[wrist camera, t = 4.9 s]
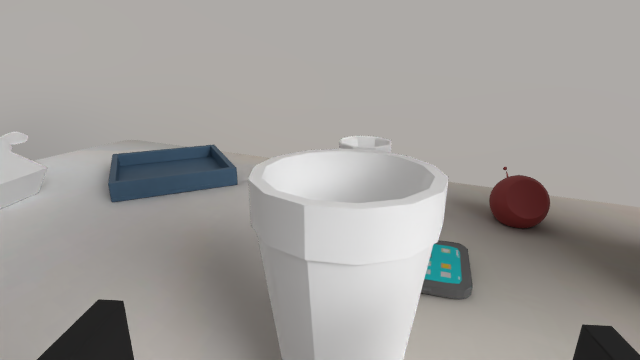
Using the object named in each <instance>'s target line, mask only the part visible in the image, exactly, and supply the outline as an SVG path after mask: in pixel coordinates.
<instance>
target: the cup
mask: <svg viewBox="0 0 640 360" xmlns="http://www.w3.org/2000/svg"><path fill="white" fill-rule="evenodd" d="M391 146H392V142H391V140H389V139H385V138H381V137H376V136H352V137H345V138H341V140H340V142H339V148H340V149H361V150H376V151H382V152H388V153H390V151H391Z"/></svg>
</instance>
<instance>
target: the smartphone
mask: <svg viewBox="0 0 640 360" xmlns="http://www.w3.org/2000/svg"><path fill="white" fill-rule="evenodd" d="M471 292H472V278H471V271H470V263H469V255H468V249H467V248H466V247H464V246H463V245H461V244H459V243H454V242H447V241H439V240H438V242H437V243H435V244H433V248H432V252H431V255H430V259H429V263H428V267H427V271H426V274H425V278H424V282H423V286H422V290H421V293H424V294H430V295H436V296H442V297H448V298H455V299H464V298H467V297H469V296H470V295H471Z"/></svg>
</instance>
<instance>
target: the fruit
mask: <svg viewBox="0 0 640 360" xmlns="http://www.w3.org/2000/svg"><path fill="white" fill-rule="evenodd" d="M503 169H504V170H506V169H507V168H506V167H504V168H503ZM506 173H507V172H506ZM489 202H490V208H491V211H492V213H493V215H494V216H495V218H496V219H497V220H498V221H499V222H501V223H503V224H505V225H507V226H511V227H515V228H530V227H533V226H535V225H537V224H539V223H540V222H541V221H542V220H543V219H544V218H545V217H546V215H547V213H548V211H549V207H550V198H549V195H548V192H547V191H546V189H545V188H544V187H543V185H542V184H541V183H540V182H538V181H537V180H535V179H533V178H531V177H527V176H520V175H517V176H511V177H508V174H507V178H505V179H503V180H502V181H500V182H499V183H498V184H497V185H496V186H495V187H494V188H493V190H492V192H491V195H490V200H489Z"/></svg>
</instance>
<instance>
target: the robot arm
mask: <svg viewBox="0 0 640 360" xmlns="http://www.w3.org/2000/svg"><path fill="white" fill-rule="evenodd" d="M37 360H134V356H133V351H132V346H131V340H130V335H129V329H128V324H127V318H126V313H125V307H124V302H123V301H118V300H98V301H97V302H95V303H94V304H93V305H92V306H91V307H90V308H89V309H88V310H87V311H86V312H85V313H84V314H83V315H82V316H81V317H80V318H79V319H78V320H77V321H76V322H75V323H74V324H73V325H72V326H71V327H70V328H69V329H68V330H67V331H66V332H65V333H64V334H63V335H62V336H61V337H60V338H59V339H58V340H57V341H56V342H54V343H53V344H52V345H51V346H50V347H49V348H48V349H47V350H46V351H45V352H44V353H43V354H42V355H41V356H40V357H39V358H38V359H37ZM573 360H640V355H639V354H638V353H637V352H636V351H635V350H634V349H633V348H632V347H631V346H630V345H629V344H628V343H627V342H626V340H625V339H624V338H623V337H622V336H621V335H620V334H619V333H618V332H617V331H616V330H615V329H614V328H613V327H612V326H599V325H582V328H581V332H580V335H579V339H578V343H577V346H576V350H575V353H574V357H573Z"/></svg>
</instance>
